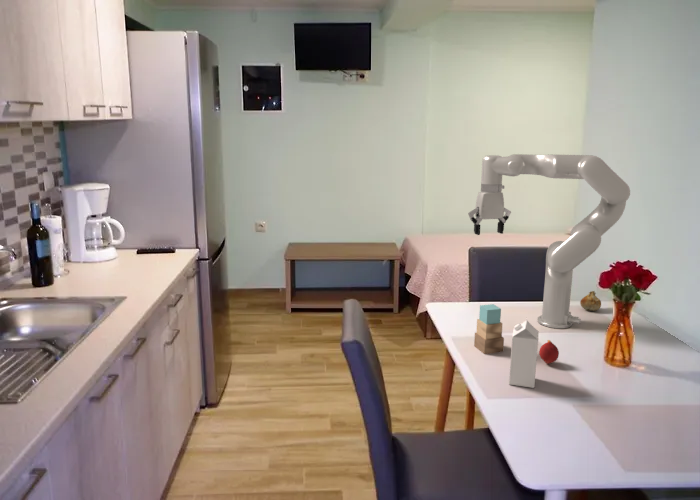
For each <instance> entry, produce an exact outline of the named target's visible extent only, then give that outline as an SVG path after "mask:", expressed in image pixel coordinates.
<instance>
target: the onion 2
mask: <svg viewBox="0 0 700 500" xmlns="http://www.w3.org/2000/svg"><path fill="white" fill-rule="evenodd" d="M596 294H597V293H596V292H595V290H590V292H588V294H586V295H585V296H584V297H582V298H581V299H580V301H579V304H580V306H581V308H582V309H584V310H585V311H588V312H595V311H597V310H598V311H599V309H600V308H601V307H602V300H600V298H598V296H596Z"/></svg>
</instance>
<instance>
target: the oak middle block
mask: <svg viewBox="0 0 700 500" xmlns="http://www.w3.org/2000/svg"><path fill="white" fill-rule="evenodd" d="M475 333H477V334H478V335H480V336H481V337H483V338H484V339H494V338H501V337H503V336H502V335H503V322H501V321H500V323H497V324H488V325H486V324H485V323H483V322H482V321H481V320H479V318H477V319H476V331H475Z"/></svg>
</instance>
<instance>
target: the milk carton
mask: <svg viewBox="0 0 700 500" xmlns="http://www.w3.org/2000/svg"><path fill="white" fill-rule="evenodd" d="M525 319H526V320H524V321H523V322H521V323H517V324H516V325H514V326H513V330H512V337H511V350H510V363H509V364H510V365H509V379H508V385H510V386H517V387H526V388H529V389H530V388H531V389H534V388H535V385H536V384H535V383H536V370H537V358H538V346H539V333H540V332H539V330H538V329H537V328H536V327H534V325H532V324H531V323H530V322H529V321H528V317H526V318H525Z"/></svg>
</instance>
